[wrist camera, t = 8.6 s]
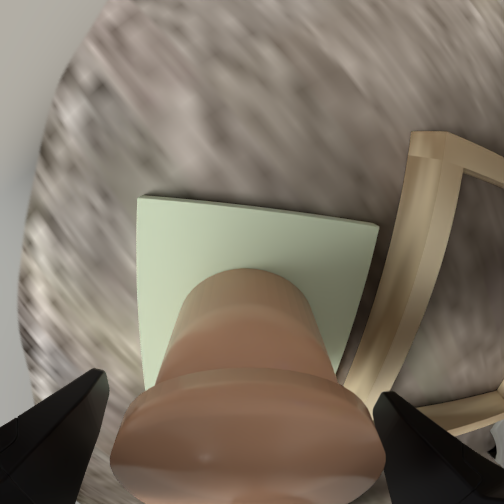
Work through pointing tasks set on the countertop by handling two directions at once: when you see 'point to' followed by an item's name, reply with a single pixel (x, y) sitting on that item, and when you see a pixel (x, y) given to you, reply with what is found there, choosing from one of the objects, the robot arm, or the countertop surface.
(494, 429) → the dog bowl
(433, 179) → the wooden square frame
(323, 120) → the countertop surface
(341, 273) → the potting mat
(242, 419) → the peach rimmed cylinder
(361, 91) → the countertop surface
